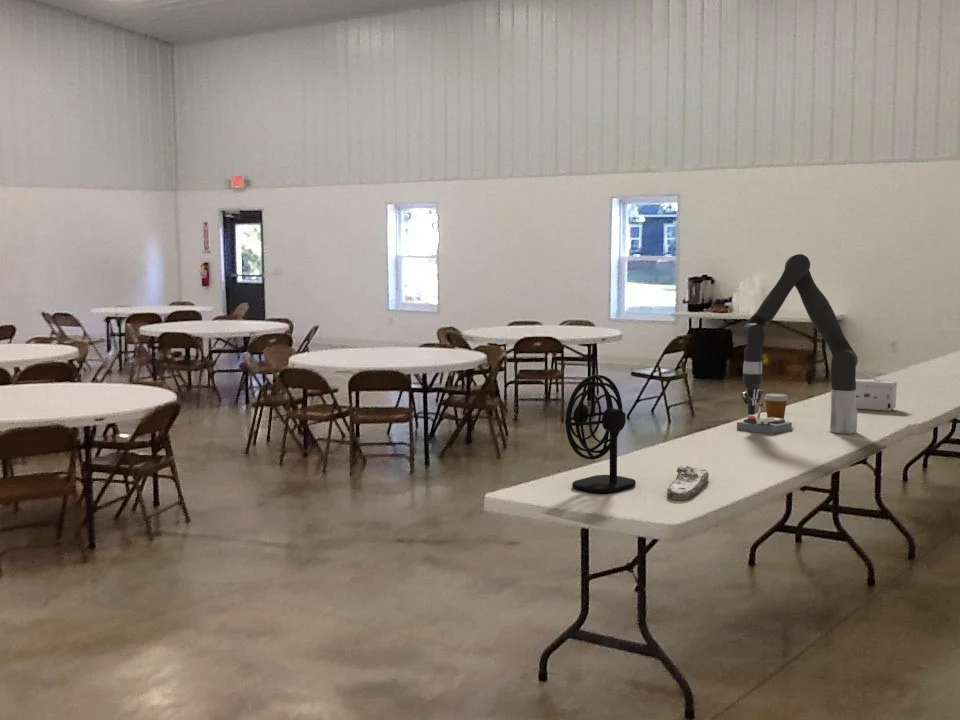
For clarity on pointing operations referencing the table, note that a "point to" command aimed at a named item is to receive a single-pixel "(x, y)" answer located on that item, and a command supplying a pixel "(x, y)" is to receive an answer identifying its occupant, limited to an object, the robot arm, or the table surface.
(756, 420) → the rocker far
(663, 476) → the table surface
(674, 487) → the long grey stone
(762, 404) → the toggle
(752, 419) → the button
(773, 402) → the disposable coffee cup
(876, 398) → the stereo radio cassette player
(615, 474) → the desk fan
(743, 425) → the panel
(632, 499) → the table surface
